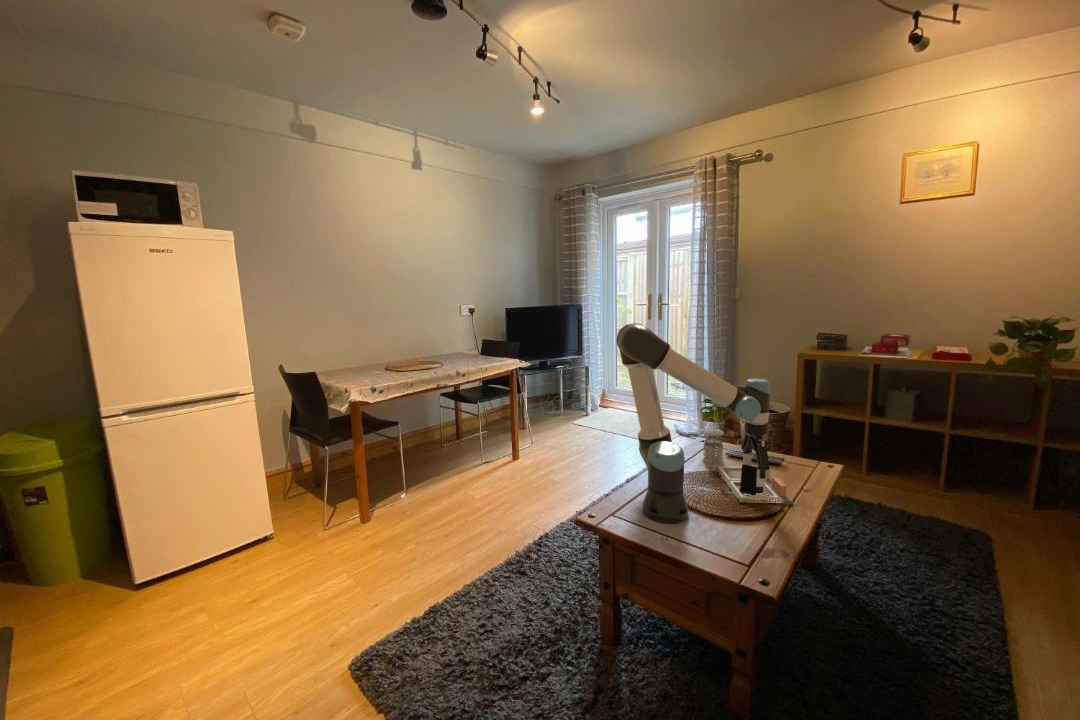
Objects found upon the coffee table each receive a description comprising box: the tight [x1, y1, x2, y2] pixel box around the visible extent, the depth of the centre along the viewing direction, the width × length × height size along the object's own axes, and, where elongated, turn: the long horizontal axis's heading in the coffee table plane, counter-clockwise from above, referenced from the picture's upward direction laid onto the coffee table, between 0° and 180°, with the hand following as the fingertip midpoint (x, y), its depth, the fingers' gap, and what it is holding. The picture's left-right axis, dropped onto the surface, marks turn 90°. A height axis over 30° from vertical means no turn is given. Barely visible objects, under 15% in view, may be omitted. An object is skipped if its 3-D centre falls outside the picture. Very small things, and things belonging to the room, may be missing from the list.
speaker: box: [740, 463, 763, 495], centre depth 159 cm, size 8×6×10 cm
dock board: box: [715, 465, 794, 505], centre depth 166 cm, size 18×28×5 cm, turn 174°
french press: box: [700, 406, 726, 468], centre depth 187 cm, size 10×12×25 cm
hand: (753, 478), depth 159 cm, fingers open, 13 cm apart
